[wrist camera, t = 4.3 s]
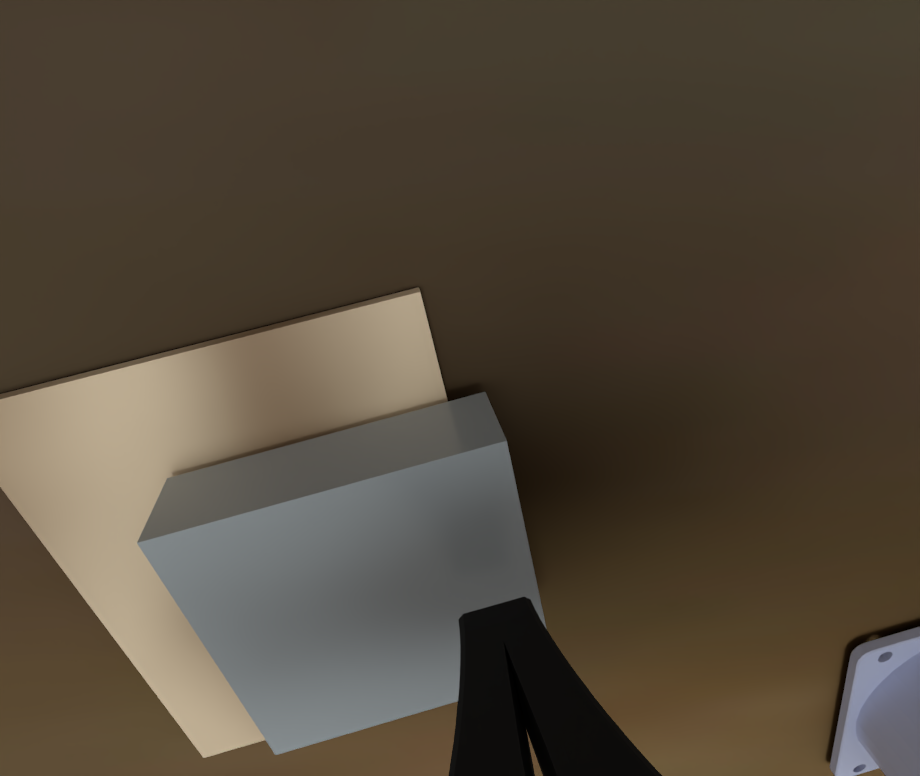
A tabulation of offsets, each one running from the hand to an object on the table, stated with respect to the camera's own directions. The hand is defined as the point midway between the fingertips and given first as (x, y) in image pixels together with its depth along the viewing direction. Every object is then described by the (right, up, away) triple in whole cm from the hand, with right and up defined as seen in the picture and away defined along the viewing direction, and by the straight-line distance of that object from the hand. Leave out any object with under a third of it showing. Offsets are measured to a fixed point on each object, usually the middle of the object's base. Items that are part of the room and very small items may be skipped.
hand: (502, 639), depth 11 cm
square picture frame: (+1, +1, +2) cm, 3 cm away
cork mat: (-5, +1, +3) cm, 6 cm away
